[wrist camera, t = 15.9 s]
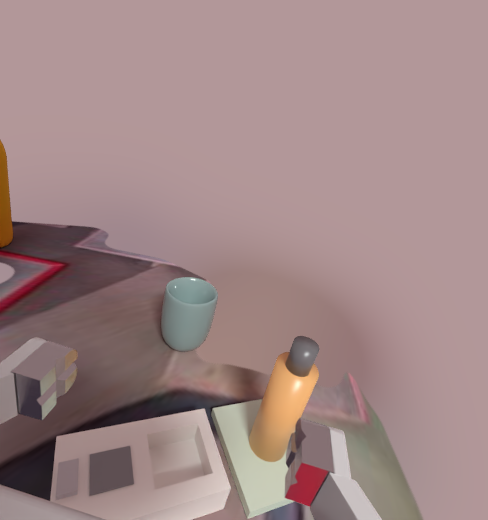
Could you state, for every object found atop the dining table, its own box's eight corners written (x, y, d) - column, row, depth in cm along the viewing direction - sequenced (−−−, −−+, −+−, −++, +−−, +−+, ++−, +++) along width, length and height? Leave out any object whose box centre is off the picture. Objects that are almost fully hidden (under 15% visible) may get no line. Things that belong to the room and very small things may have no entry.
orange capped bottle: (243, 430, 39) (276, 331, 33) (274, 422, 41) (311, 328, 35) (258, 466, 35) (300, 363, 29) (292, 456, 37) (337, 358, 31)
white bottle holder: (46, 569, 25) (45, 542, 23) (57, 459, 32) (56, 432, 31) (223, 508, 32) (232, 484, 30) (199, 428, 39) (205, 404, 37)
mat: (211, 414, 41) (212, 408, 40) (277, 401, 45) (279, 395, 45) (247, 519, 31) (250, 512, 31) (326, 489, 36) (330, 483, 35)
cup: (149, 335, 52) (155, 282, 48) (189, 321, 57) (198, 273, 53) (174, 366, 47) (185, 310, 43) (215, 348, 52) (228, 297, 48)
